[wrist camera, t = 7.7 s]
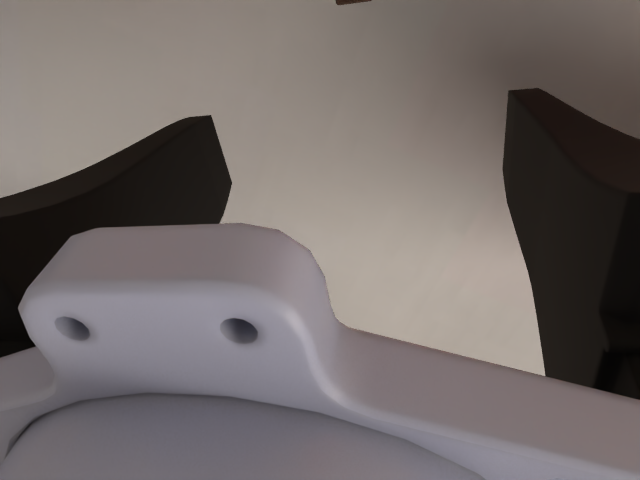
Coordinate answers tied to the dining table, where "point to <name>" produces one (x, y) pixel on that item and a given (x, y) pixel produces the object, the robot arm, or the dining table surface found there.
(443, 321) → the dining table surface
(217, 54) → the dining table surface
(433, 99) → the dining table surface
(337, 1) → the rack
